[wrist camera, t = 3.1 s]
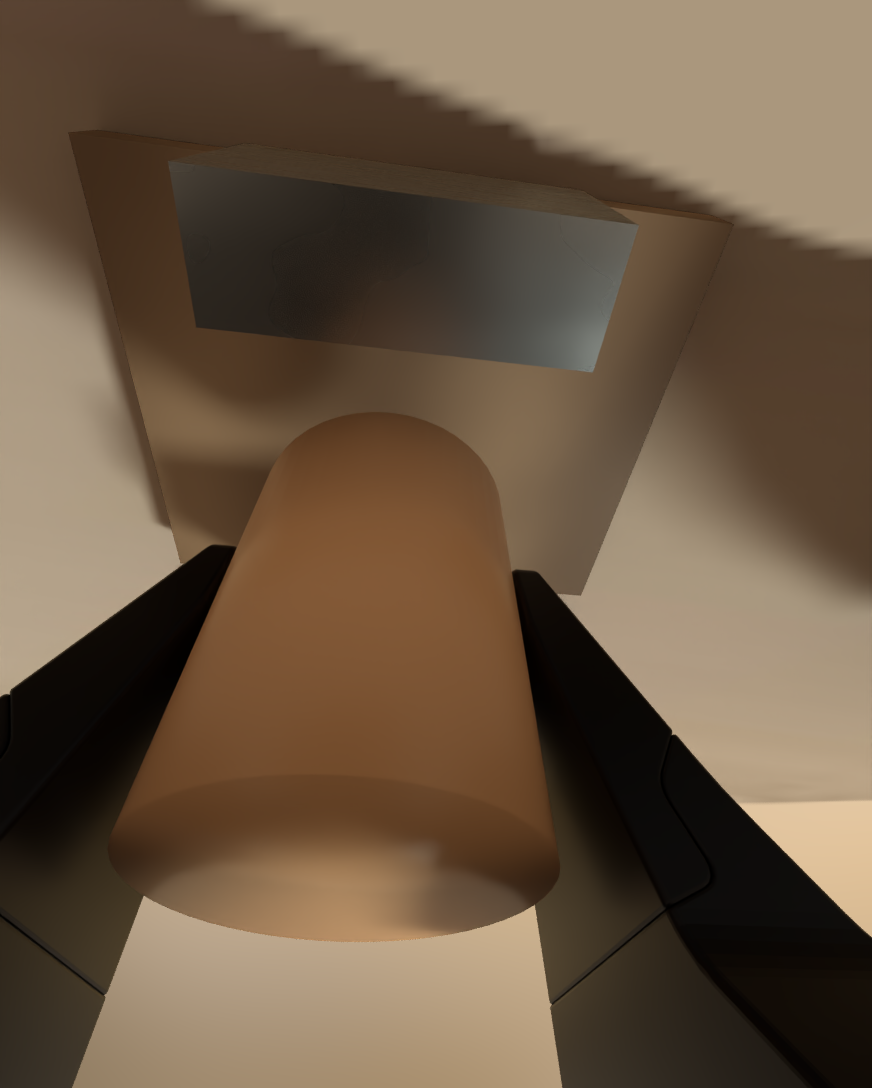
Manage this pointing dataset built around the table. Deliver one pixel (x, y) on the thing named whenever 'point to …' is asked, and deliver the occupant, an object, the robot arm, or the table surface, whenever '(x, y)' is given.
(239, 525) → the board
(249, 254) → the clamp jaws
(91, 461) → the table surface
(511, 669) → the orange-tan rounded capsule
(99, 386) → the table surface
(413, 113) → the table surface
